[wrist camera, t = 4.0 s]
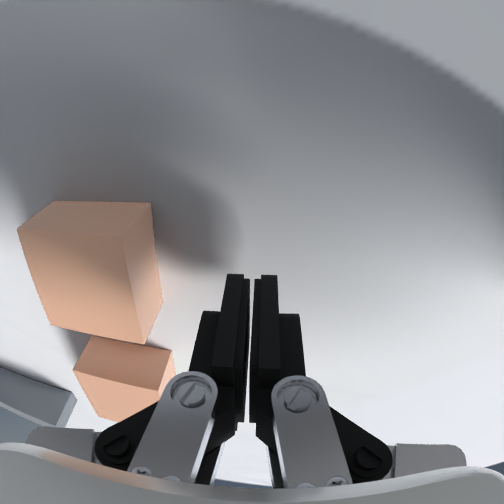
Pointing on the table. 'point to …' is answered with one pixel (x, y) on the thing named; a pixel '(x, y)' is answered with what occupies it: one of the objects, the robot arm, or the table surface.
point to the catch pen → (35, 400)
